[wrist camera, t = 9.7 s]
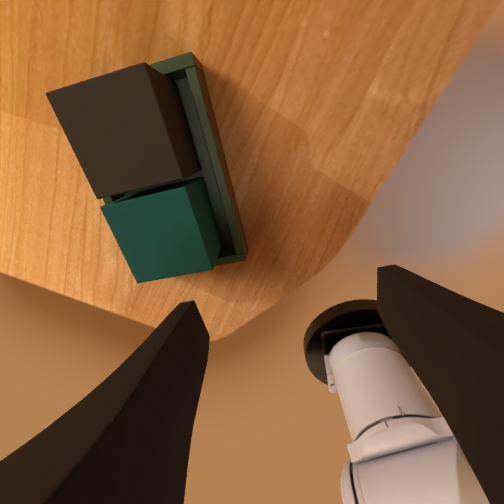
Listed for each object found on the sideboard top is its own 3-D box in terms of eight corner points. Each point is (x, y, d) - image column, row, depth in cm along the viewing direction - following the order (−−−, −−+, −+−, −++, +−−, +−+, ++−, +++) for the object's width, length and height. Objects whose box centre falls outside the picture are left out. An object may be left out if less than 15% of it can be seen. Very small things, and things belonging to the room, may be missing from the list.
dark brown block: (202, 169, 16) (183, 178, 12) (134, 186, 17) (96, 199, 13) (176, 82, 14) (144, 61, 10) (100, 104, 15) (44, 92, 11)
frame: (248, 249, 19) (246, 260, 17) (152, 267, 20) (141, 280, 18) (200, 62, 14) (191, 51, 12) (77, 100, 15) (52, 94, 13)
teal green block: (223, 242, 18) (212, 269, 15) (162, 254, 19) (137, 283, 15) (203, 176, 16) (185, 187, 13) (136, 192, 17) (99, 206, 13)
